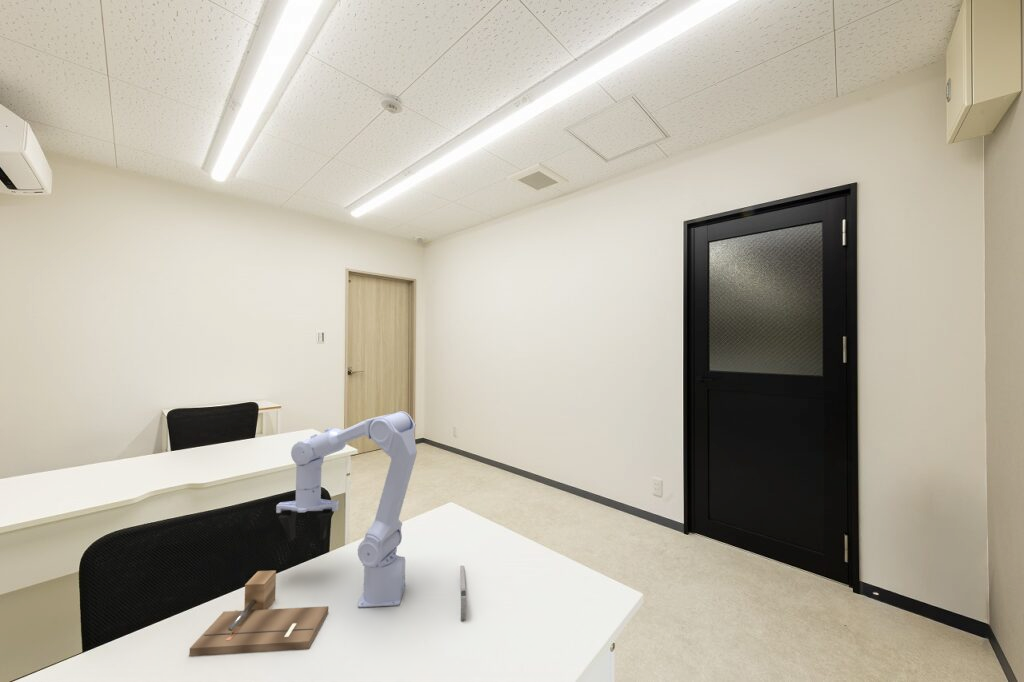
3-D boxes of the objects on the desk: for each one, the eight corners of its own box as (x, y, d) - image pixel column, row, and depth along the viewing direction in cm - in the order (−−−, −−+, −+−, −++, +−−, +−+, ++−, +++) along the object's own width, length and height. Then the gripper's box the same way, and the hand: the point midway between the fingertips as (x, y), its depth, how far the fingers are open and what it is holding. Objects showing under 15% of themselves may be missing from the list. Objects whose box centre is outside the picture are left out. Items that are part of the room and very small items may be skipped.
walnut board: (328, 612, 85) (328, 605, 85) (309, 648, 75) (309, 640, 75) (223, 618, 82) (223, 611, 82) (189, 656, 72) (189, 647, 72)
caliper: (465, 622, 83) (466, 594, 83) (460, 623, 83) (461, 594, 83) (464, 568, 103) (464, 545, 103) (460, 568, 103) (460, 545, 103)
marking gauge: (275, 600, 88) (276, 570, 88) (241, 644, 75) (242, 609, 76) (257, 601, 88) (258, 571, 88) (219, 645, 75) (220, 610, 75)
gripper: (270, 492, 92) (269, 548, 92) (332, 491, 93) (331, 546, 93) (284, 482, 99) (283, 533, 99) (342, 481, 100) (340, 531, 100)
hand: (307, 538), depth 96 cm, fingers open, 7 cm apart
